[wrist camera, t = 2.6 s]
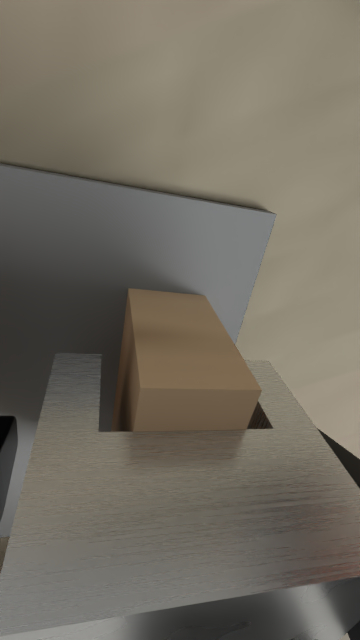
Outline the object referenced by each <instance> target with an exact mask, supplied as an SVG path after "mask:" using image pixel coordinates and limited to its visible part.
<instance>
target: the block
mask: <svg viewBox="0 0 360 640" xmlns="http://www.w3.org/2000/svg"><path fill="white" fill-rule="evenodd" d="M261 392H262V389H261V387H260V386H259V384H258V382H257V381H256V379H255V377H254V376H253V374H252V372H251V371H250V369H249V368H248V366H247V364H246V363H245V361H244V359H243V358H242V356H241V354H240V353H239V351H238V349H237V348H236V346H235V344H234V343H233V341H232V339H231V338H230V336H229V334H228V333H227V331H226V329H225V328H224V326H223V324H222V323H221V321H220V319H219V318H218V316H217V314H216V313H215V311H214V309H213V308H212V306H211V304H210V303H209V301H208V299H207V298H206V296H204V295H194V294H184V293H173V292H163V291H152V290H142V289H132V288H128V295H127V303H126V312H125V320H124V328H123V336H122V345H121V353H120V361H119V369H118V378H117V386H116V394H115V403H114V411H113V419H112V427H111V432H133V431H186V430H238V429H247V427H248V424H249V422H250V419H251V417H252V414H253V412H254V409H255V407H256V404H257V402H258V399H259V397H260V394H261Z"/></svg>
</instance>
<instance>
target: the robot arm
mask: <svg viewBox="0 0 360 640" xmlns="http://www.w3.org/2000/svg"><path fill="white" fill-rule="evenodd" d="M317 429H318V428H317ZM318 431H319V432H320V434H321V435H322V436H323V438H324V439H325V441H326V442H327V444H328V445H329V446H330V448H331V449H332V451H333V452H334V453H335V455H336V456H337V458H338V459H339V460H340V462H341V463H342V465H343V466H344V467H345V469H346V470H347V472H348V473H349V474H350V476H351V477H352V479H353V480H354V482H355V483H356V484H357V486H358V487H359V489H360V459H359V458H357V457H356V456H354V455H353V454H352V453H350V452H349V451H348V450H346V449H345V448H343V447H342V446H341V445H339V444H338V443H337V442H335V441H334V440H333V439H331V438H330V437H328V436H327V435H326V434H324V433H323V432H322V431H320V430H319V429H318ZM17 446H18V433H17V420H16V417H15V416H0V522H1V519H2V516H3V511H4V507H5V503H6V498H7V494H8V489H9V484H10V480H11V475H12V470H13V466H14V461H15V456H16V452H17ZM347 633H348V635H349V638H350V640H360V621H359V622H358V623H357V624H356V625H354V626H353V627H352V628H351V629H350V630H349V631H348V632H347Z"/></svg>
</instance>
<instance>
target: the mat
mask: <svg viewBox="0 0 360 640" xmlns="http://www.w3.org/2000/svg"><path fill="white" fill-rule="evenodd" d="M276 215H277V214H274V213H272V212H270V211H265V210H259V209H253V208H248V207H242V206H237V205H231V204H225V203H220V202H214V201H209V200H203V199H197V198H192V197H186V196H181V195H175V194H169V193H164V192H158V191H152V190H147V189H141V188H136V187H130V186H124V185H119V184H113V183H108V182H102V181H96V180H91V179H85V178H80V177H74V176H68V175H63V174H57V173H52V172H46V171H40V170H35V169H29V168H24V167H18V166H12V165H7V164H1V163H0V416H15V417H16V420H17V433H18V446H17V452H16V456H15V461H14V466H13V470H12V475H11V480H10V484H9V489H8V494H7V498H6V503H5V507H4V511H3V516H2V519H1V522H0V537H10V534H11V530H12V526H13V522H14V518H15V514H16V510H17V506H18V502H19V498H20V494H21V490H22V486H23V482H24V478H25V474H26V470H27V466H28V462H29V458H30V454H31V450H32V446H33V442H34V438H35V434H36V430H37V426H38V422H39V418H40V414H41V410H42V406H43V402H44V398H45V394H46V390H47V386H48V382H49V378H50V374H51V370H52V366H53V362H54V358H55V354H56V352H61V353H85V354H101V379H100V404H99V430H98V432H111V427H112V419H113V411H114V403H115V394H116V386H117V378H118V369H119V361H120V353H121V345H122V336H123V328H124V320H125V312H126V303H127V295H128V288H132V289H142V290H152V291H163V292H173V293H184V294H194V295H204V296H206V298H207V299H208V301H209V303H210V304H211V306H212V308H213V309H214V311H215V313H216V314H217V316H218V318H219V319H220V321H221V323H222V324H223V326H224V328H225V329H226V331H227V333H228V334H229V336H230V338H231V339H232V341H233V343H234V344H235V343H236V340H237V337H238V334H239V330H240V327H241V324H242V321H243V318H244V315H245V312H246V309H247V305H248V302H249V299H250V296H251V293H252V290H253V287H254V284H255V280H256V277H257V274H258V271H259V268H260V265H261V262H262V259H263V256H264V252H265V249H266V246H267V243H268V240H269V237H270V234H271V231H272V227H273V224H274V221H275V218H276Z"/></svg>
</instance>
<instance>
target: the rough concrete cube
mask: <svg viewBox="0 0 360 640" xmlns="http://www.w3.org/2000/svg"><path fill="white" fill-rule="evenodd" d="M244 361H245V363H246V364H247V366H248V368H249V369H250V371H251V372H252V374H253V376H254V377H255V379H256V381H257V382H258V384H259V386H260V387H261V389H262V392H261V394H260V397H259V399H258V402H257V404H256V407H255V409H254V412H253V414H252V417H251V419H250V422H249V424H248V427H247V429H238V430H186V431H133V432H98V430H99V404H100V379H101V354H85V353H61V352H56V354H55V358H54V362H53V366H52V370H51V374H50V378H49V382H48V386H47V390H46V394H45V398H44V402H43V406H42V410H41V414H40V418H39V422H38V426H37V430H36V434H35V438H34V442H33V446H32V450H31V454H30V458H29V462H28V466H27V470H26V474H25V478H24V482H23V486H22V490H21V494H20V498H19V502H18V506H17V510H16V514H15V518H14V522H13V526H12V530H11V534H10V538H9V542H8V546H7V550H6V554H5V558H4V562H3V566H2V570H1V574H0V640H340V639H341V638H342V637H343V636H344V635H345V634H346V633H347V632H348V631H349V630H350V629H351V628H352V627H353V626H354V625H356V624H357V623H358V622H359V621H360V489H359V487H358V486H357V484H356V483H355V482H354V480H353V479H352V477H351V476H350V474H349V473H348V472H347V470H346V469H345V467H344V466H343V465H342V463H341V462H340V460H339V459H338V458H337V456H336V455H335V453H334V452H333V451H332V449H331V448H330V446H329V445H328V444H327V442H326V441H325V439H324V438H323V436H322V435H321V434H320V432H319V431H318V429H317V428H316V427H315V425H314V424H313V422H312V421H311V420H310V418H309V417H308V415H307V414H306V413H305V411H304V410H303V408H302V407H301V406H300V404H299V403H298V401H297V400H296V399H295V397H294V396H293V394H292V393H291V391H290V390H289V389H288V387H287V386H286V384H285V383H284V382H283V380H282V379H281V377H280V376H279V375H278V373H277V372H276V370H275V369H274V368H273V366H272V365H271V363H270V362H269V361H250V360H244Z"/></svg>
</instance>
